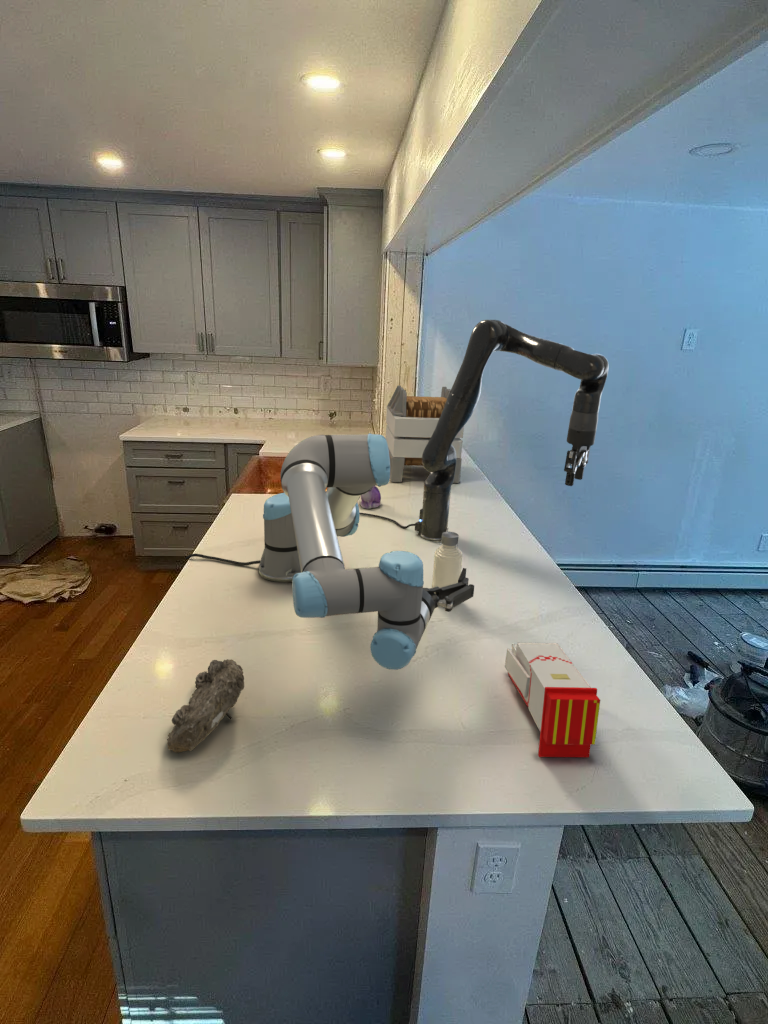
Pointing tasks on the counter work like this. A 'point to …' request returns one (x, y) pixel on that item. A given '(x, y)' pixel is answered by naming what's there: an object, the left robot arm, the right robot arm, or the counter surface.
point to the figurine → (371, 498)
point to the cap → (449, 538)
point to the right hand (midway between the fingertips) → (573, 482)
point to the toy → (555, 698)
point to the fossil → (206, 705)
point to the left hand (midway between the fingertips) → (434, 568)
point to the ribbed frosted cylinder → (446, 566)
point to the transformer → (415, 430)
